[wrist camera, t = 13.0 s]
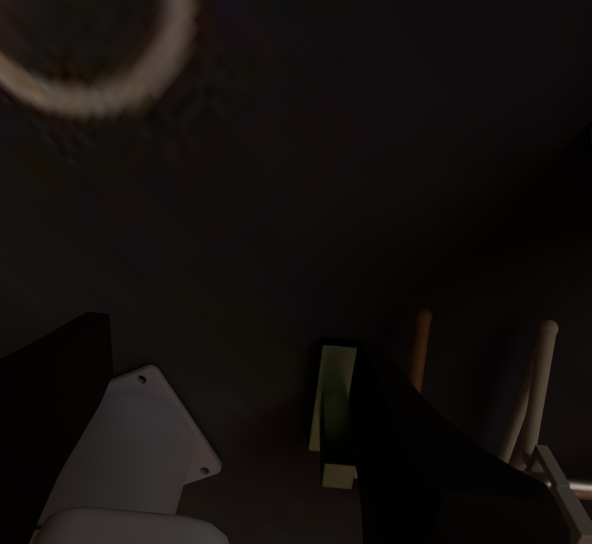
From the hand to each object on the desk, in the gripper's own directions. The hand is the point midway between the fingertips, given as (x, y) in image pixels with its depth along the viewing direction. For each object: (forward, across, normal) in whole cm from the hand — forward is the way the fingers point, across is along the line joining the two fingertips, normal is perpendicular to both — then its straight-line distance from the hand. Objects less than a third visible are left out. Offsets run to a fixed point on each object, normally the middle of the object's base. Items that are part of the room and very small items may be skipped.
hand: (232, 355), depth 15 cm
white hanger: (+10, -14, +9) cm, 20 cm away
